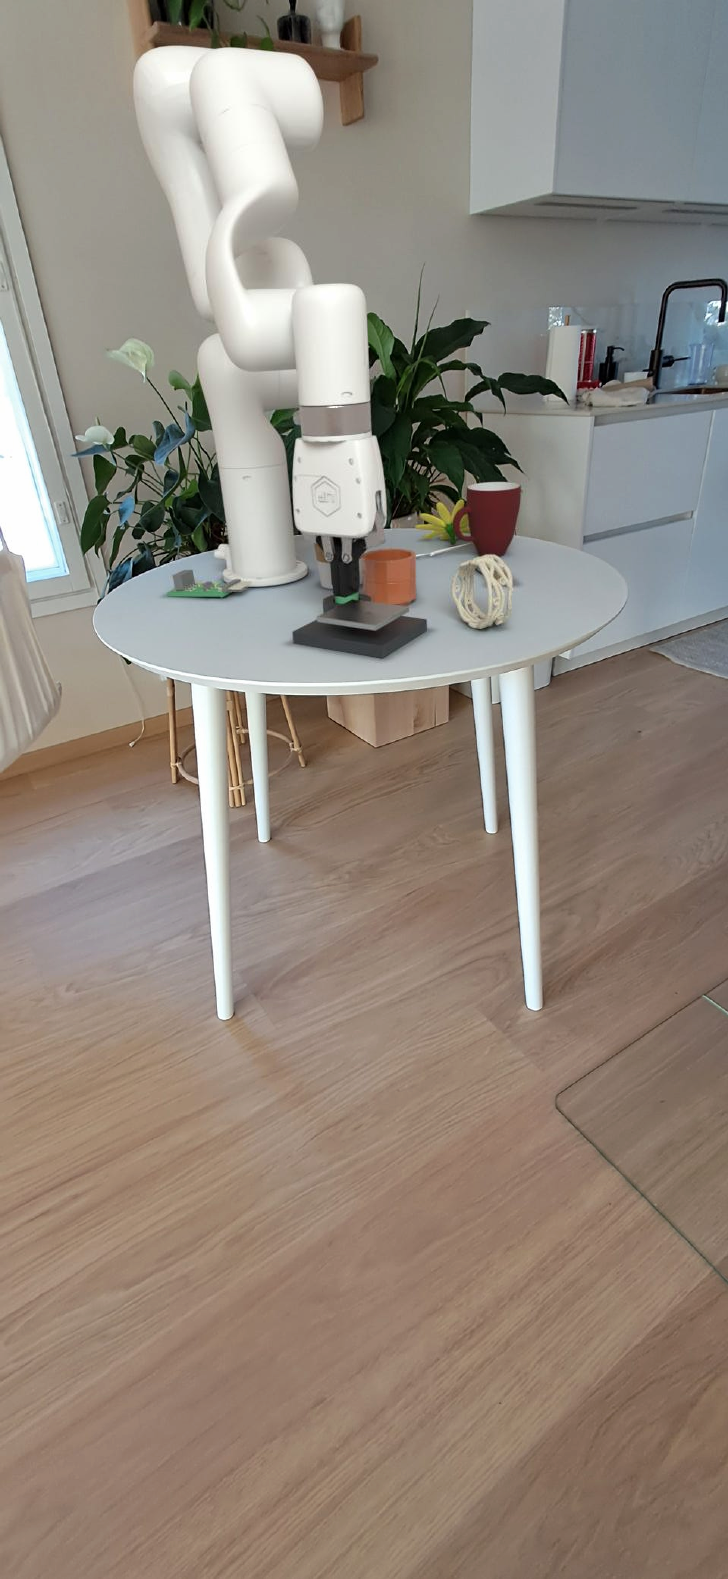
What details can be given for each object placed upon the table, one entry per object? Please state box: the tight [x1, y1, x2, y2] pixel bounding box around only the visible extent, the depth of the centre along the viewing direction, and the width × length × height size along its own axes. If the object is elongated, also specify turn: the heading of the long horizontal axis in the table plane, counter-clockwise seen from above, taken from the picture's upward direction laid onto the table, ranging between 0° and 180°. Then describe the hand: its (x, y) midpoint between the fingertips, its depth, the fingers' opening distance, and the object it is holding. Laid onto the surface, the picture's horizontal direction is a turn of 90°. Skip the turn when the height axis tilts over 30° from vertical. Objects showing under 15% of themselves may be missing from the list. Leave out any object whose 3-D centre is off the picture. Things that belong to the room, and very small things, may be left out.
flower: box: [414, 499, 470, 546], centre depth 125 cm, size 4×12×12 cm
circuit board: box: [166, 569, 252, 599], centre depth 107 cm, size 12×3×5 cm
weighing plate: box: [316, 599, 410, 631], centre depth 84 cm, size 8×7×1 cm
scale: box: [292, 592, 428, 659], centre depth 88 cm, size 13×11×3 cm
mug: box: [453, 481, 522, 558], centre depth 116 cm, size 11×8×10 cm
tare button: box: [335, 591, 359, 604], centre depth 91 cm, size 3×3×2 cm
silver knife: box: [416, 541, 473, 558], centre depth 119 cm, size 4×1×19 cm
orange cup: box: [361, 548, 417, 606], centre depth 98 cm, size 7×7×6 cm
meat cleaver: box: [475, 565, 515, 587], centre depth 107 cm, size 12×1×5 cm
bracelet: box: [450, 555, 515, 630], centre depth 87 cm, size 4×8×8 cm, turn 31°
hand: (346, 593), depth 90 cm, fingers closed
